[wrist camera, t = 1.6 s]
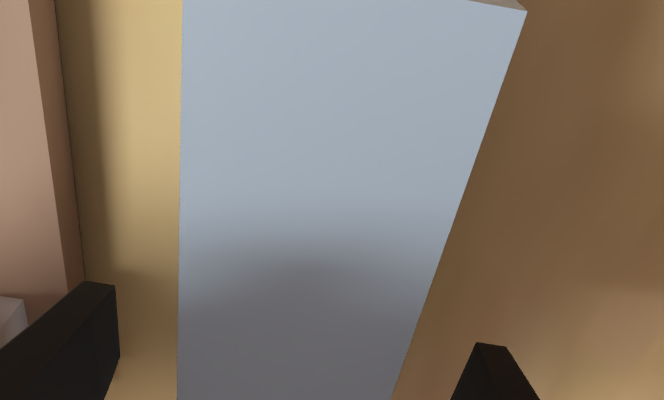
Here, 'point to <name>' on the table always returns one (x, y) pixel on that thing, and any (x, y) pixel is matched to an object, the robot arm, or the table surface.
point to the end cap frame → (34, 170)
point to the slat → (323, 184)
